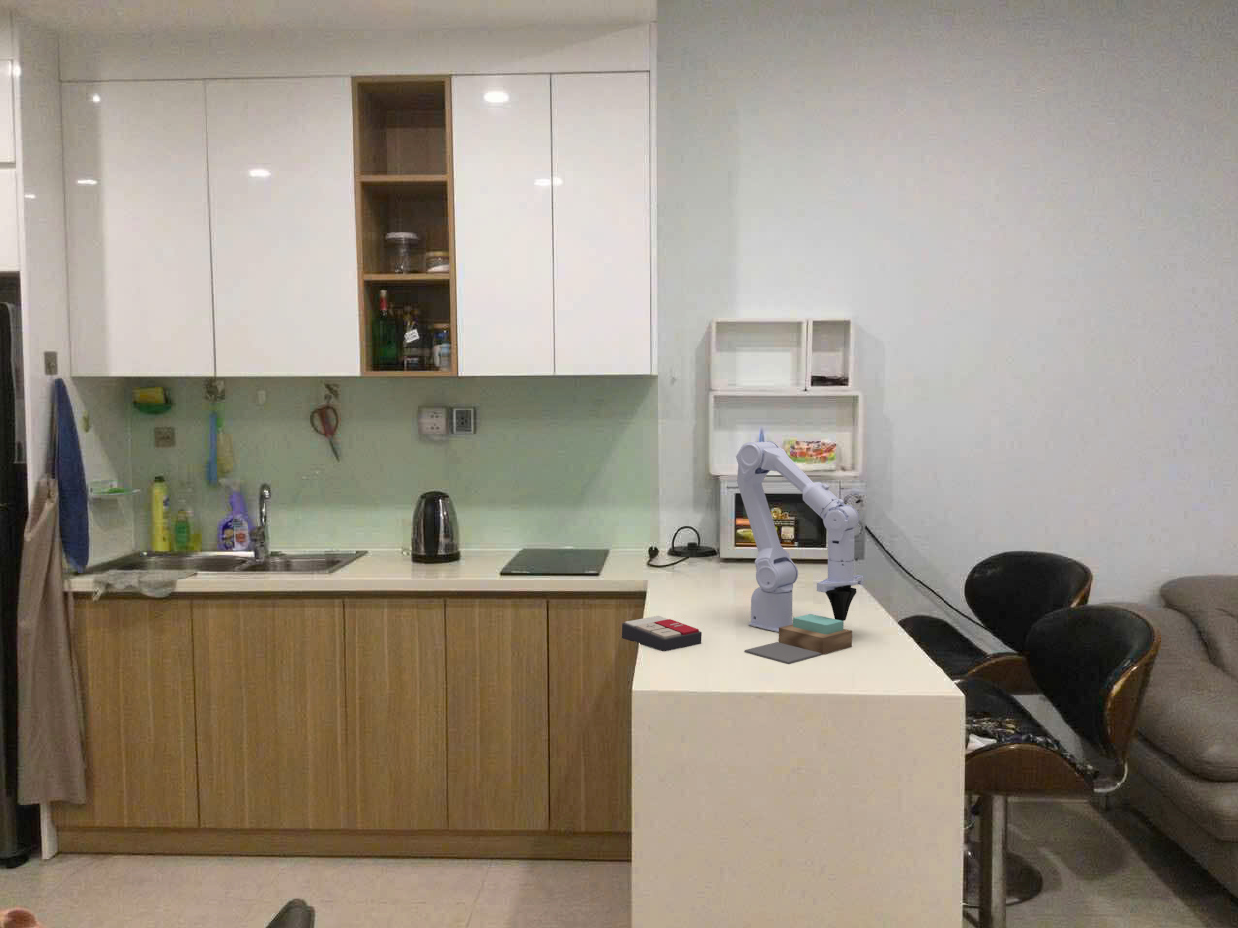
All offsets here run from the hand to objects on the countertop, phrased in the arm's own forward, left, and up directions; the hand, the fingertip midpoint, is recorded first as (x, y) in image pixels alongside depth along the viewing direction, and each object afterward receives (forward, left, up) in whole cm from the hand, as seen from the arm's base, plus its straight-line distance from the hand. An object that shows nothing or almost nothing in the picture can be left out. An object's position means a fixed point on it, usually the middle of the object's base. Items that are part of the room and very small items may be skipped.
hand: (840, 619), depth 205 cm
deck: (0, -9, -4) cm, 10 cm away
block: (0, -8, 0) cm, 8 cm away
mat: (0, -20, -4) cm, 20 cm away
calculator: (-24, -32, -5) cm, 40 cm away
